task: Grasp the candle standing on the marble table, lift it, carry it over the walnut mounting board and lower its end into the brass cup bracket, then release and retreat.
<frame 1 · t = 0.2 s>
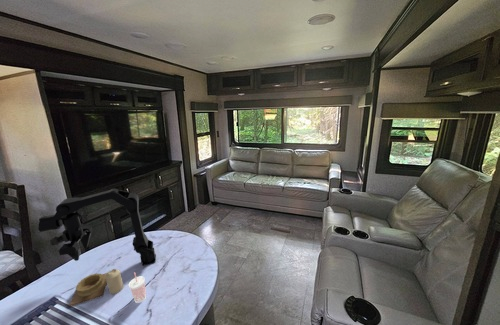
hand: (81, 253, 97), 14 cm above the table, fingers open, 9 cm apart
candle: (116, 289, 94), on the table
beverage cup: (140, 298, 89), on the table
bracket: (91, 288, 94), on the table
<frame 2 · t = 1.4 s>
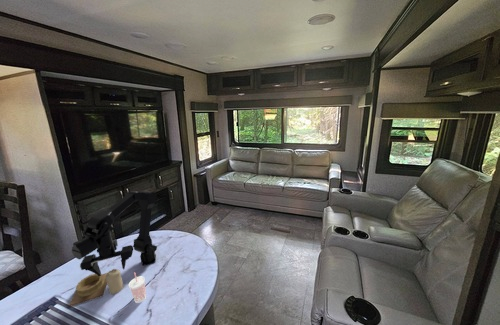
hand: (112, 272, 91), 10 cm above the table, fingers open, 9 cm apart
nothing on the table moved.
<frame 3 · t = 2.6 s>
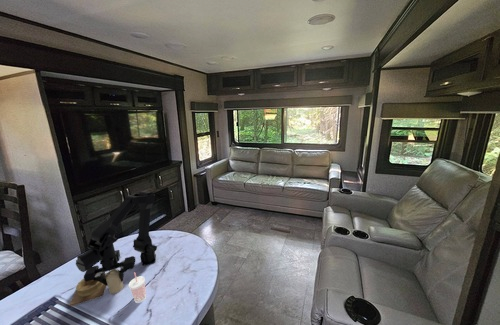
hand: (115, 282, 93), 4 cm above the table, fingers closed on candle, 5 cm apart
candle: (116, 289, 94), on the table, touching gripper
everything else where it was.
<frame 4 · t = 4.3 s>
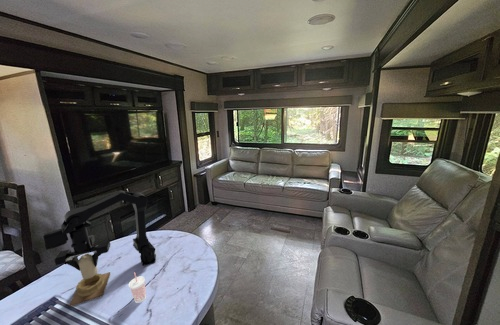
hand: (88, 267, 90), 12 cm above the table, fingers closed on candle, 5 cm apart
candle: (90, 274, 91), point 9 cm above the table, touching gripper
everything else where it was.
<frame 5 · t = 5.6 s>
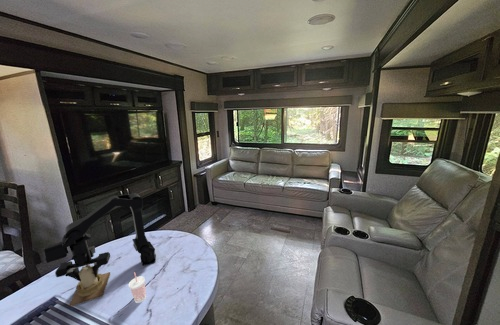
hand: (89, 278, 93), 6 cm above the table, fingers closed on candle, 5 cm apart
candle: (91, 285, 94), point 2 cm above the table, touching gripper
everything else where it was.
when the fingers open (5 cm above the table, at t = 6.5 s): candle stays where it is, resting on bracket.
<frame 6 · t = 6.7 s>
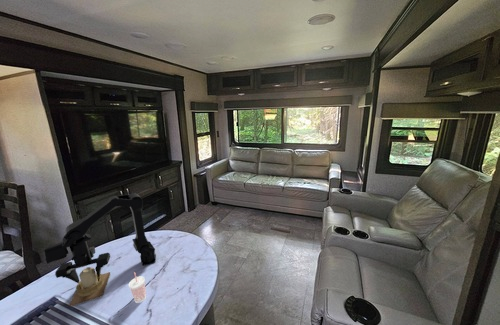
hand: (89, 279, 93), 5 cm above the table, fingers open, 8 cm apart
candle: (91, 287, 94), point 1 cm above the table, touching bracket
everything else where it was.
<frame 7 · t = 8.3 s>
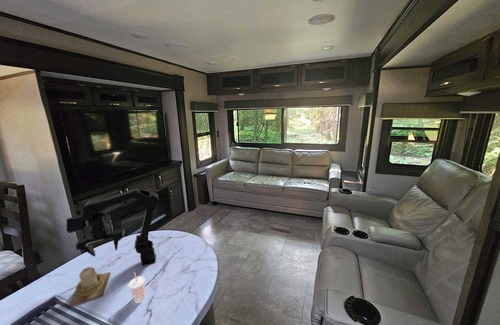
hand: (105, 252, 100), 12 cm above the table, fingers open, 9 cm apart
nothing on the table moved.
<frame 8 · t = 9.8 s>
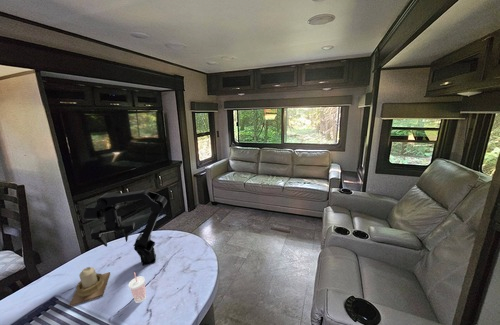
hand: (116, 243, 106), 13 cm above the table, fingers open, 9 cm apart
nothing on the table moved.
at the end: candle 0.1 cm from the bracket (horizontally); candle point 0.8 cm above the table; candle tilted 0° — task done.
